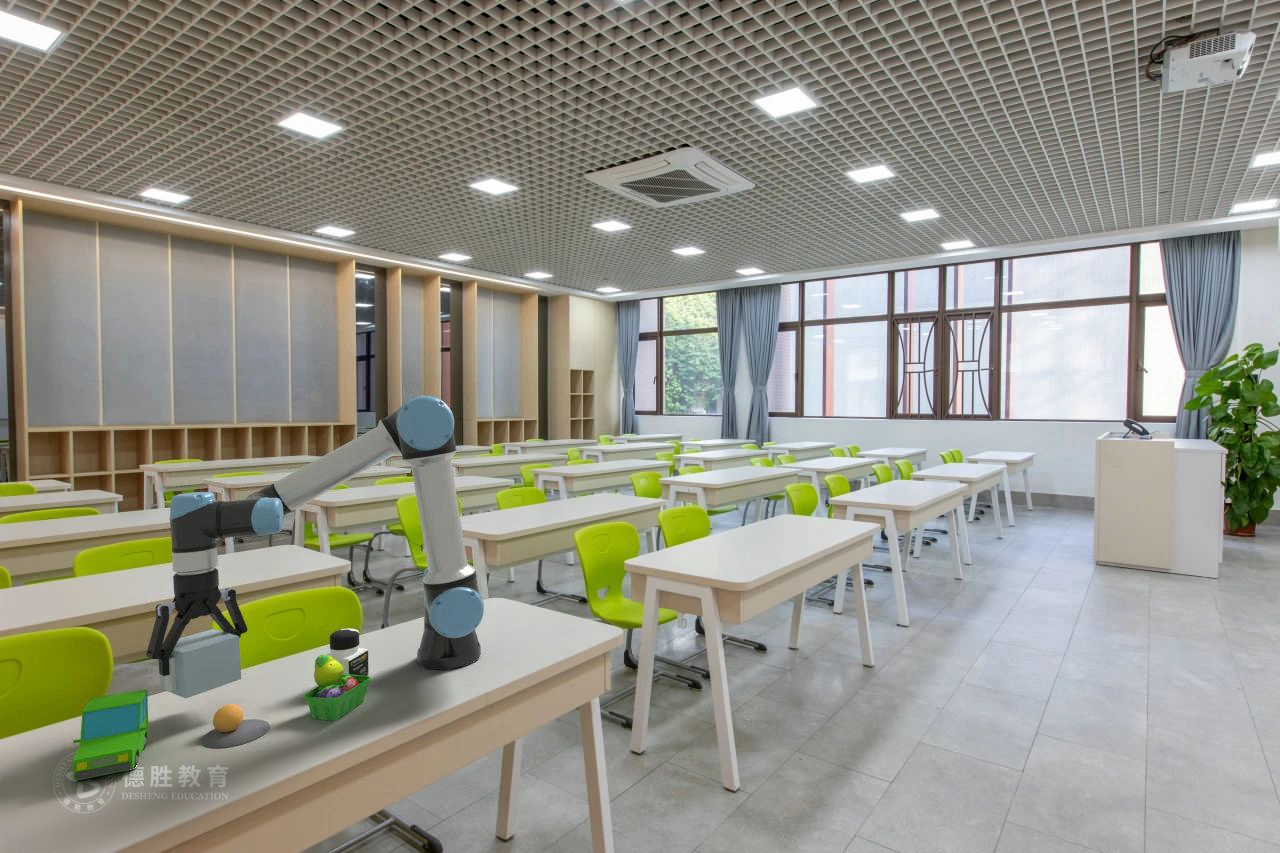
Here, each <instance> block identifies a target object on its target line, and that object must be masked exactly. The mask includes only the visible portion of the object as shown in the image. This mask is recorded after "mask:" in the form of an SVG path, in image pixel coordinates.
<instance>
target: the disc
mask: <svg viewBox="0 0 1280 853" xmlns="http://www.w3.org/2000/svg"><path fill="white" fill-rule="evenodd" d="M270 726H271V725H270V723H269V722H268V721H266V720H264V719H254V718H253V719H249V718H248V719H243V721H242V723H241V724H240V726H239V727H238V728H236V729H235V730H233V731H231V732H226V733H223V732H219V731H218V730H216V729H215V728H214V729H211V730H209V731H208V732H207V733H205V734H204V735H203V736H202V738H201V743H202V745H203V746H204V747H206V748H211V749H226V748H232V747H238V746H241V745H245V744H248V743H251V742H253V741H255V740H257V739H260V738H261V737H262V736H264V735H265V734H266V733H267V732H268V731H269V730H270Z"/></svg>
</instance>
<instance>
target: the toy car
mask: <svg viewBox="0 0 1280 853" xmlns="http://www.w3.org/2000/svg"><path fill="white" fill-rule="evenodd" d="M148 699H149V698H148V688H147V689H141V690H136V691H135V690H134V691H128V692H122V693H115V694H110V695H103V696H97V697H92V698H90V700H89V701H88V703H87V704H86V706H85V707H84V709H83V710H82V711H81V721H80V722H81V724H80V725H81V726H80V736H79V738H78V739H74V740H73V739H72V744H79V745H78V747H77V749H76V752H75V754H74V757H73V759H72V766H73V767H72V768H73V769H72V772H73V776H72V777H73V782H78V781H77V780H80V781H83V780H82V779H85V780H87V779H91V778H96V777H101V776H105V775H111V774H115V773H121V772H125V771H128V770H129V771H131V770H130V769H133V768H135V767H136V765H137V766H138V764H139V758H140V757H141V755H142V752H143V751H144V750H145V749H146V747H147V740H148V739H149V706H148V705H149V700H148ZM137 763H138V764H137ZM133 770H134V769H133Z"/></svg>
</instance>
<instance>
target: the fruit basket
mask: <svg viewBox="0 0 1280 853" xmlns="http://www.w3.org/2000/svg"><path fill="white" fill-rule="evenodd" d="M343 671H344V669H343V666H342V665H341V664H340V663H339V662H338V661H336V660H335V659H333V658H332V657H331V656H328V655H327V653H325V654H320V655H319V656H317V657H316V659H315V662H314V671H313V672H314V674H313V678H314V683H315V684H316V685H317V686H316V687H315V688H313V689H311V690H309V691H308V692H306V693H305V694H304V695H303V696H304V699H305V701H306V702H307V705H308V708H309V711H310V714H311V716H312V718H313V719H316V720H317V719H318V720H324V721H333V722H335V721H337V720H338V719H340V717H342V716H344V715H346V714H347V713H349V712H350V711H352V710H353V709H355V708H356V707H357V706H359V705H361V704H362V703H363V702H364V701H365V696H366V692H367V688H368V686H369V685H368V684H369V682H370V680H371V676H360V675H351V674H343Z"/></svg>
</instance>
